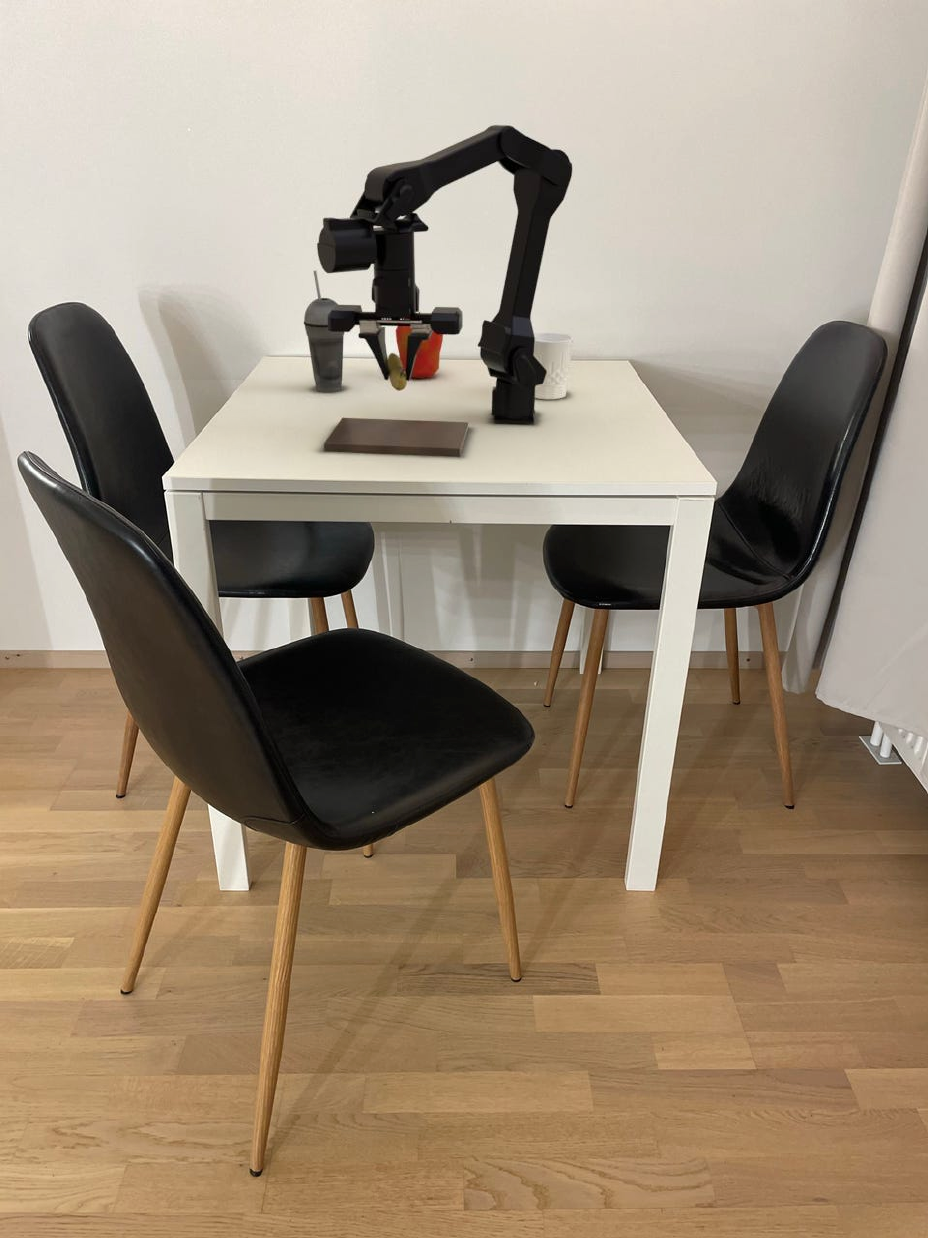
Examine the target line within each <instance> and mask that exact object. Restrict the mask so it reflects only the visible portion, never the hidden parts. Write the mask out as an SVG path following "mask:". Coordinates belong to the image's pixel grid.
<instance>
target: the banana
mask: <svg viewBox="0 0 928 1238" xmlns="http://www.w3.org/2000/svg"><path fill="white" fill-rule="evenodd" d="M387 359H388V366H389V381H390V384H391V386H392V388H393V389H394V390H395V391H398V392H399V391H403V390H404V389H405V388H406V386H407V383H408V381H407V380H406V373H405V372H404V367H403V365H402V362H401V359H400V356H399V355H398V354H396V353H394V352H391V353H390V354H388V356H387Z"/></svg>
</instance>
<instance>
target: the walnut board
mask: <svg viewBox="0 0 928 1238" xmlns="http://www.w3.org/2000/svg"><path fill="white" fill-rule="evenodd" d="M468 431H469V422H468V421H448V420H447V421H445V420H444V421H443V420H418V419H417V420H415V419H389V418H385V419H384V418H364V417H363V418H360V417H342V418H341V419H340V421H339V422H338V423H337V424H336V426H335V428H334V429H333V430H332V431H331V432H330V434H329V436H328V437H327V438H326V440H325V441H324V442H323V451H324V452H336V453H337V452H338V453H340V452H341V453H361V454H363V453H364V454H366V453H367V454H386V455H387V454H390V455H413V456H414V455H416V456H441V457H442V456H443V457H461V454H462V451H463V448H464V444H465V441H466V437H467V434H468Z"/></svg>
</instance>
